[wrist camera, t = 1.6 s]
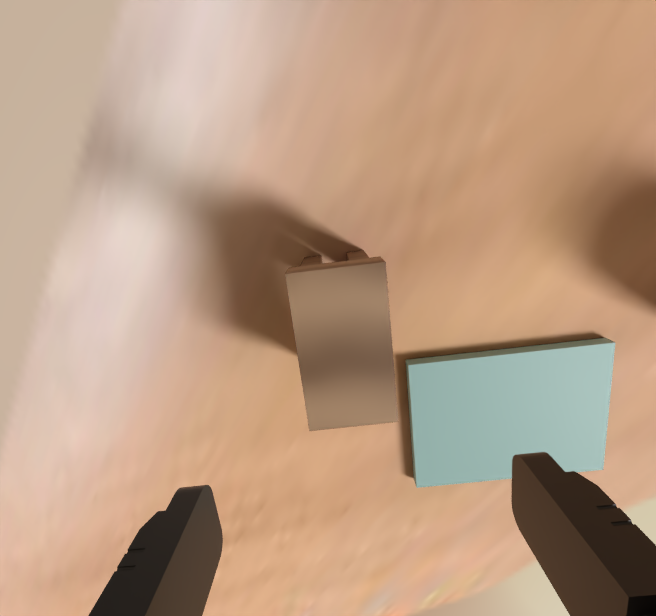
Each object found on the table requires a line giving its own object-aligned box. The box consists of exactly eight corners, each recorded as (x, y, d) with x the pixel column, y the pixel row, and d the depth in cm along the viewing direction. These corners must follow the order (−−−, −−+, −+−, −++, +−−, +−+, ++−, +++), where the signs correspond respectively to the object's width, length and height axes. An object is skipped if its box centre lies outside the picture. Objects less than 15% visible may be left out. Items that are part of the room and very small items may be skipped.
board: (405, 359, 28) (408, 365, 27) (605, 337, 27) (615, 342, 26) (413, 478, 31) (416, 487, 30) (594, 461, 30) (603, 469, 29)
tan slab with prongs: (298, 253, 26) (284, 274, 18) (368, 245, 26) (385, 261, 18) (315, 369, 28) (309, 431, 20) (379, 362, 28) (398, 421, 20)
